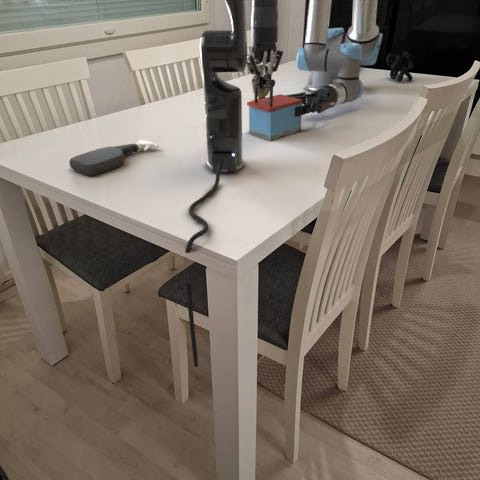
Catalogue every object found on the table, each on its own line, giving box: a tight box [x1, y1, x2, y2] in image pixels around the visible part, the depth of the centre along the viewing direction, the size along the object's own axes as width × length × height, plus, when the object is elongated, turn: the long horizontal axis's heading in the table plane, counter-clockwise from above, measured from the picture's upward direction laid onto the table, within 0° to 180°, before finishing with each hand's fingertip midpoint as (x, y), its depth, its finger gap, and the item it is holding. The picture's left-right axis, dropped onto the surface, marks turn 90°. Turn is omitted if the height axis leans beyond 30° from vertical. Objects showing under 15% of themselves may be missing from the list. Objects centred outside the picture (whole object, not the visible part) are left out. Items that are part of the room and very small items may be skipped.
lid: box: [246, 75, 302, 112], centre depth 136 cm, size 14×10×9 cm
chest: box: [248, 103, 303, 141], centre depth 141 cm, size 14×10×9 cm
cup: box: [251, 80, 270, 100], centre depth 173 cm, size 8×7×8 cm
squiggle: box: [385, 51, 414, 83], centre depth 198 cm, size 11×10×15 cm
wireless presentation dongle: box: [68, 139, 160, 177], centre depth 124 cm, size 3×11×24 cm
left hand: (263, 88), depth 132 cm, fingers closed on lid, 2 cm apart
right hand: (283, 108), depth 142 cm, fingers closed on chest, 10 cm apart
